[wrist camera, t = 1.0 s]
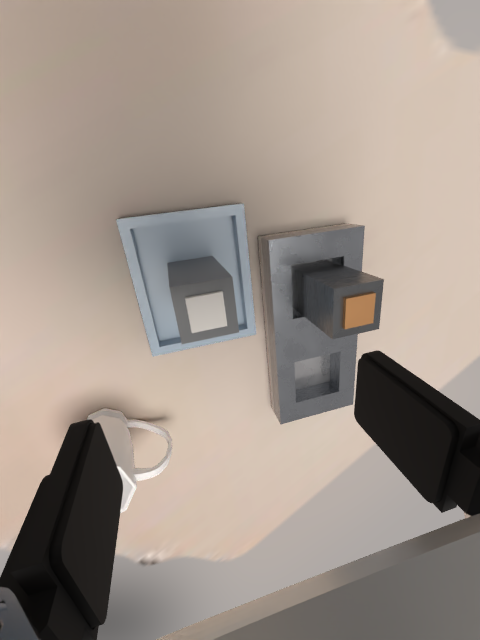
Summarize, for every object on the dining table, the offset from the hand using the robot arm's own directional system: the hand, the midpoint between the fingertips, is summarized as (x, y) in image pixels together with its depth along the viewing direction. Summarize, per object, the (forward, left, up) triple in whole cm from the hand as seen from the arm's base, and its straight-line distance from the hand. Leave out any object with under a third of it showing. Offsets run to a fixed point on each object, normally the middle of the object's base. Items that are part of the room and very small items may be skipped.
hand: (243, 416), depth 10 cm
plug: (0, 0, -18) cm, 18 cm away
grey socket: (+7, +11, -18) cm, 22 cm away
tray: (0, 0, -18) cm, 18 cm away
